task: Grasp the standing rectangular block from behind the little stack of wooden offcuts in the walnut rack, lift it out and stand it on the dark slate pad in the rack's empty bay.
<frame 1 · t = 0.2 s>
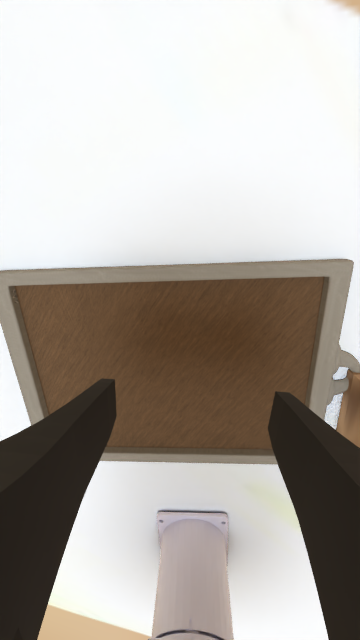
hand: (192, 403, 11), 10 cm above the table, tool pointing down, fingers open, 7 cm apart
clipboard: (184, 368, 23), on the table
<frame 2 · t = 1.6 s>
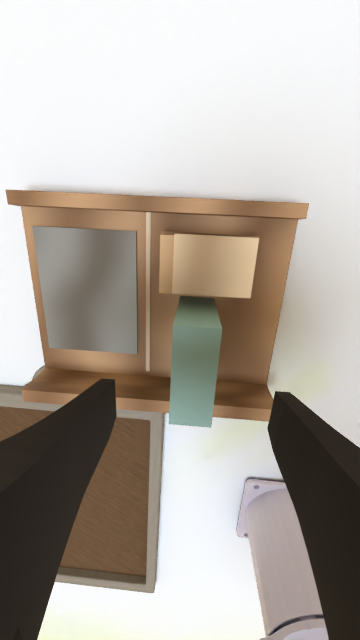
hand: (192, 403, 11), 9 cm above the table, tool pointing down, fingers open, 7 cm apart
offcut stack: (206, 261, 17), resting on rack
clipboard: (73, 482, 27), on the table
rectangular block: (194, 335, 19), point 1 cm above the table, touching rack
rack: (156, 302, 19), on the table
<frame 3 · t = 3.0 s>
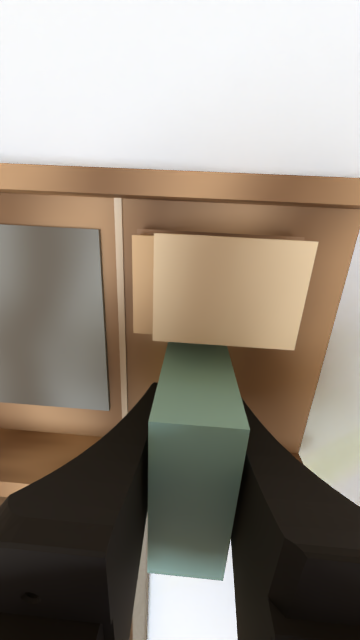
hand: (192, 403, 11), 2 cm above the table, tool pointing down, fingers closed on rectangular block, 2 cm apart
offcut stack: (212, 277, 11), resting on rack
clipboard: (36, 555, 21), on the table
rectangular block: (192, 385, 13), point 1 cm above the table, touching gripper, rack
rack: (136, 335, 13), on the table
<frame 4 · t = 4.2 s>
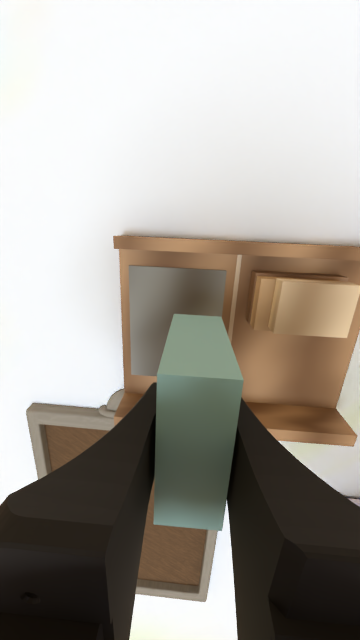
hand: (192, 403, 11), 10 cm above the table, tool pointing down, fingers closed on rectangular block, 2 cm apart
offcut stack: (290, 297, 18), resting on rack
clipboard: (133, 496, 28), on the table
rectangular block: (193, 368, 14), point 7 cm above the table, touching gripper
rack: (234, 332, 20), on the table
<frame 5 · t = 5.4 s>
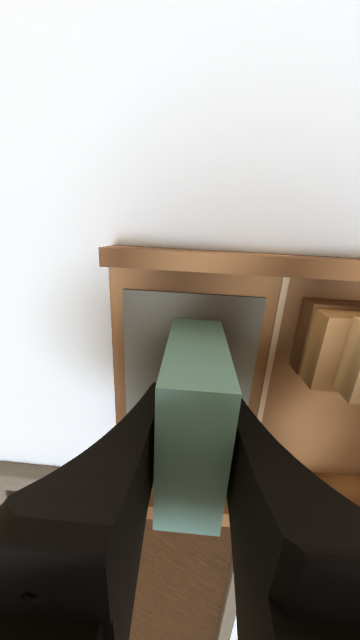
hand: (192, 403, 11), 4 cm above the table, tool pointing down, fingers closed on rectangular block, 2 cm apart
offcut stack: (356, 335, 13), resting on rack
clipboard: (130, 565, 23), on the table
rectangular block: (193, 371, 14), point 1 cm above the table, touching gripper, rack
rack: (270, 378, 15), on the table
when the fingers open (3 cm above the table, at t = 5.8 s): rectangular block stays where it is, resting on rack.
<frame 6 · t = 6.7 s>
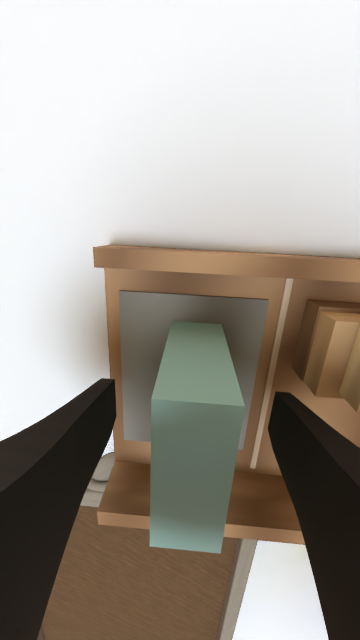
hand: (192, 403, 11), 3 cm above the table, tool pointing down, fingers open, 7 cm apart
clipboard: (128, 572, 22), on the table
rectangular block: (192, 376, 13), point 1 cm above the table, touching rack
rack: (272, 382, 14), on the table
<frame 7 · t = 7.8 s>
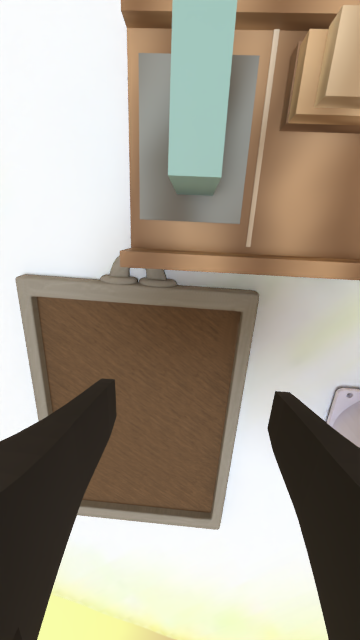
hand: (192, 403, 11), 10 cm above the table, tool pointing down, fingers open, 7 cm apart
offcut stack: (335, 96, 15), resting on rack
clipboard: (139, 402, 25), on the table
rectangular block: (197, 142, 16), point 1 cm above the table, touching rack
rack: (264, 161, 17), on the table
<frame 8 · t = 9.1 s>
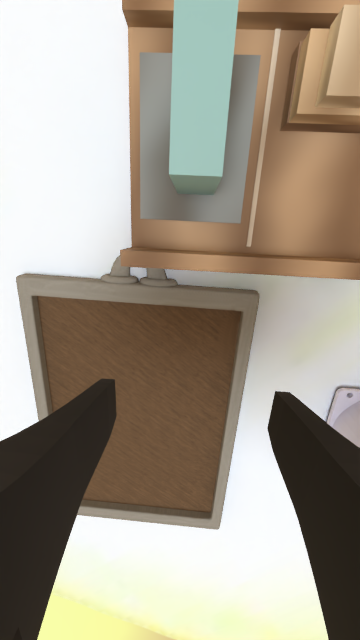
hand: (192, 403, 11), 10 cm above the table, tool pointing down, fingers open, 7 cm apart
offcut stack: (336, 96, 15), resting on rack
clipboard: (139, 402, 25), on the table
rectangular block: (198, 142, 16), point 1 cm above the table, touching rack
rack: (264, 161, 17), on the table
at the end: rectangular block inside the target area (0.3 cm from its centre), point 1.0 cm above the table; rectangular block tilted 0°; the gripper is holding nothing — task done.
